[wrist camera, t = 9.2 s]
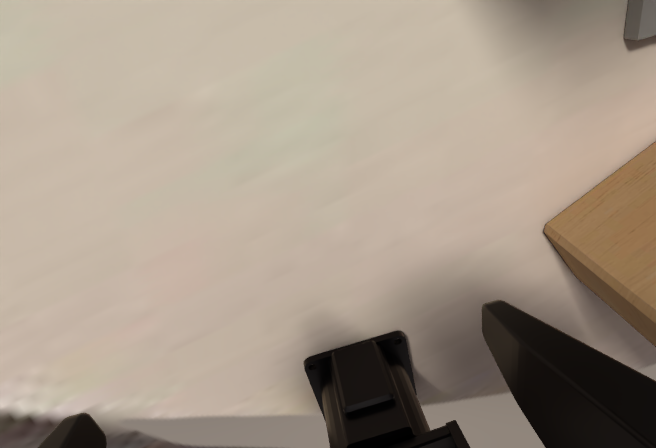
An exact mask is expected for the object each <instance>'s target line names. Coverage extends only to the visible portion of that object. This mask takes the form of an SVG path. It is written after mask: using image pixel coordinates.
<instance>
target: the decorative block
mask: <svg viewBox="0 0 656 448" xmlns="http://www.w3.org/2000/svg"><path fill="white" fill-rule="evenodd" d="M544 233H545V234H546V235H547V237H548V238H549V240H550V241H551V242H552V244H553V245H554V247H555V248H556V249H557V251H558V252H559V254H560V255H561V256H562V258H563V259H564V261H565V262H566V263H567V265H568V266H569V268H570V269H571V270H572V272H573V273H574V275H575V276H576V277H577V278H578V279H579V280H580V281H581V282H583V283H584V284H585V285H586V286H587V287H588V288H589V289H591V290H592V291H593V292H594V293H595V294H596V295H597V296H598V297H600V298H601V299H602V300H603V301H604V302H605V303H606V304H608V305H609V306H610V307H611V308H612V309H613V310H614V311H616V312H617V313H618V314H619V315H620V316H621V317H622V318H624V319H625V320H626V321H627V322H628V323H629V324H630V325H632V326H633V327H634V328H635V329H636V330H637V331H638V332H640V333H641V334H642V335H643V336H644V337H645V338H646V339H647V340H649V341H650V342H651V343H652V344H653V345H654V346H655V347H656V142H655V143H653V144H652V145H651V146H649V147H648V148H647V149H645V150H644V151H643V152H641V153H640V154H639V155H637V156H636V157H635V158H633V159H632V160H631V161H629V162H628V163H627V164H625V165H624V166H623V167H621V168H620V169H619V170H617V171H616V172H615V173H613V174H612V175H611V176H609V177H608V178H607V179H605V180H604V181H603V182H601V183H600V184H599V185H597V186H596V187H595V188H593V189H592V190H591V191H589V192H588V193H587V194H585V195H584V196H583V197H581V198H580V199H579V200H577V201H576V202H575V203H574V204H572V205H571V206H570V207H568V208H567V209H566V210H564V211H563V212H562V213H560V214H559V215H558V216H556V217H555V218H554V219H552V220H551V221H550V222H548V223H547V224H546V225H545V229H544Z"/></svg>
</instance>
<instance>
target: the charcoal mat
mask: <svg viewBox="0 0 656 448" xmlns="http://www.w3.org/2000/svg"><path fill="white" fill-rule="evenodd" d="M655 35H656V0H629V1H628V9H627V17H626V25H625V33H624V39H631V40H641V39H644V38H648V37H651V36H655Z"/></svg>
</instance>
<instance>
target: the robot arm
mask: <svg viewBox="0 0 656 448" xmlns="http://www.w3.org/2000/svg"><path fill="white" fill-rule="evenodd" d="M482 332H483V336H484V338H485V341H486V343H487V345H488V347H489V349H490V351H491V353H492V355H493V357H494V359H495V361H496V363H497V365H498V367H499V369H500V371H501V373H502V375H503V377H504V379H505V381H506V383H507V385H508V387H509V389H510V391H511V392H512V394H513V396H514V398H515V400H516V402H517V403H518V405H519V407H520V408H521V410H522V412H523V413H524V415H525V416H526V418H527V419H528V421H529V422H530V424H531V426H532V427H533V429H534V430H535V432H536V433H537V435H538V437H539V438H540V440H541V441H542V443H543V444H544V446H545V447H546V448H656V381H655V380H653V379H651V378H649V377H647V376H645V375H643V374H641V373H639V372H638V371H636V370H634V369H632V368H630V367H628V366H626V365H624V364H622V363H621V362H619V361H617V360H615V359H613V358H611V357H609V356H607V355H605V354H603V353H601V352H600V351H598V350H596V349H594V348H592V347H590V346H588V345H586V344H584V343H582V342H581V341H579V340H577V339H575V338H573V337H571V336H569V335H567V334H565V333H563V332H562V331H560V330H558V329H556V328H554V327H552V326H550V325H548V324H546V323H544V322H543V321H541V320H539V319H537V318H535V317H533V316H531V315H529V314H527V313H525V312H524V311H522V310H520V309H518V308H516V307H514V306H512V305H510V304H508V303H506V302H505V301H502V300H496V301H492V302H488V303H485V304H483V306H482ZM396 339H397V340H396ZM311 364H314V365H311ZM304 368H305V372H306V374H307V377H308V379H309V382H310V384H311V387H312V389H313V391H314V394H315V396H316V399H317V401H318V404H319V406H320V409H321V411H322V414H323V416H324V419H325V421H326V426H327V431H328V437H329V443H330V448H470V446H469V444H468V443H467V441H466V439H465V438H464V435H463V433H462V431H461V429H460V428H459V426H458V424H457V422H456V420H453V421H451V422H448V423H446V425H445V426H442V427H440V428H437V429H434V430H431V431H430V428H429V426H428V424H427V421H426V419H425V416H424V414H423V411H422V409H421V406H420V404H419V401H418V399H417V394H416V389H415V384H414V379H413V374H412V369H411V364H410V359H409V354H408V349H407V344H406V339H405V337H404V335H403V333H402V332H400V331H395V332H392V333H388V334H385V335H381V336H378V337H375V338H371V339H368V340H365V341H361V342H358V343H355V344H351V345H348V346H345V347H341V348H338V349H334V350H331V351H328V352H324V353H321V354H318V355H314V356H311V357H308V358H307V359H305V361H304ZM106 445H107V442H106V436H105V434H104V432H103V431H102V430H101V428H100V427H99V426H98V425H97V423H96V422H95V421H94V420H93V418H92V417H91V416H90V415H89V414H87V413H80V414H77V415H73V416H69V417H67V418H65V419H64V420H63V421H62V422H61V423H60V424H59V425H58V426H57V427H56V428H55V429H54V430H53V431H52V433H51V434H50V435H49V436H48V437H47V438H46V439H45V440H44V441H43V442H42V443H41V445H40V446H39V447H38V448H106Z"/></svg>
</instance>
